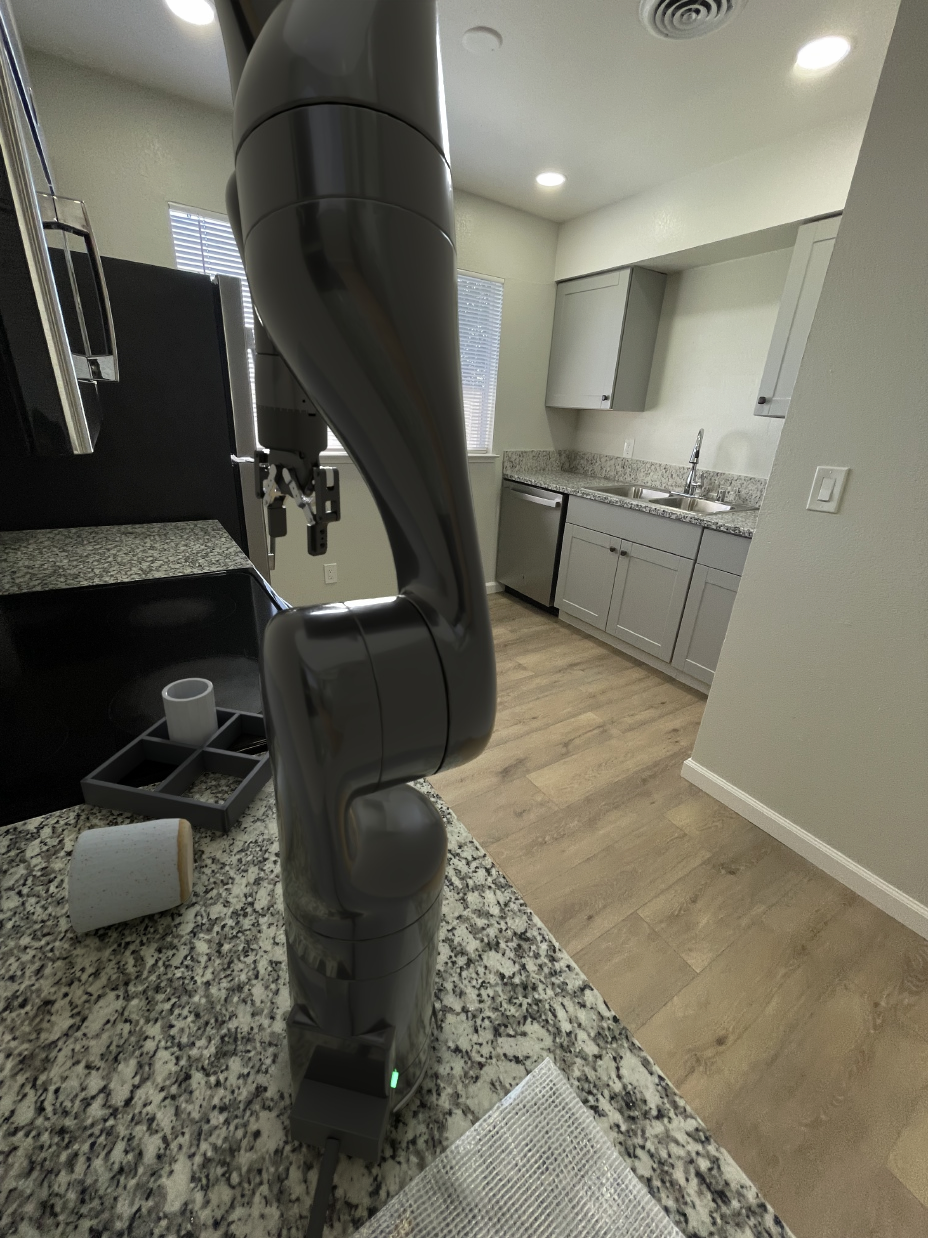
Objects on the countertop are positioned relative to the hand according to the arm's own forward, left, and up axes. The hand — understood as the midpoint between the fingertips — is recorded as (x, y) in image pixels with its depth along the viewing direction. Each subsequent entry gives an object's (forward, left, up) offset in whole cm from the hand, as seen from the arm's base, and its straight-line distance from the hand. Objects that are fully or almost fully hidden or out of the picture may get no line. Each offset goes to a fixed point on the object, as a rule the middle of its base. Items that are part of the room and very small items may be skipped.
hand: (297, 545), depth 63 cm
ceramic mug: (-29, +1, -25) cm, 38 cm away
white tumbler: (-10, +10, -25) cm, 28 cm away
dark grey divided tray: (-14, +6, -25) cm, 29 cm away
